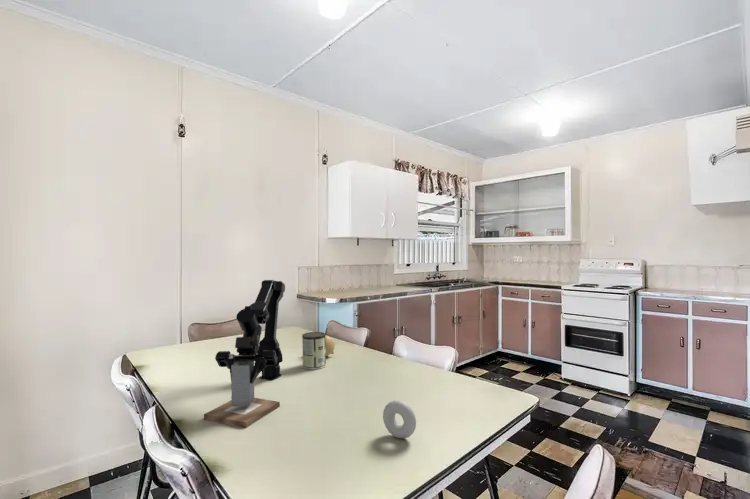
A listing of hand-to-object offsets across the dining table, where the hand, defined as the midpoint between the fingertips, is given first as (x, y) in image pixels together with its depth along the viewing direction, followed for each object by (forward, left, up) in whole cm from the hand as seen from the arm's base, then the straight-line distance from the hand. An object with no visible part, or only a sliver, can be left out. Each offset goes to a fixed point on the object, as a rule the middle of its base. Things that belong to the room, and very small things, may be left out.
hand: (241, 383), depth 118 cm
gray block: (-1, +1, -7) cm, 7 cm away
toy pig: (-9, +66, -10) cm, 67 cm away
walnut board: (-1, +1, -10) cm, 10 cm away
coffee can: (-5, +51, -10) cm, 52 cm away
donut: (+50, +3, -10) cm, 52 cm away
